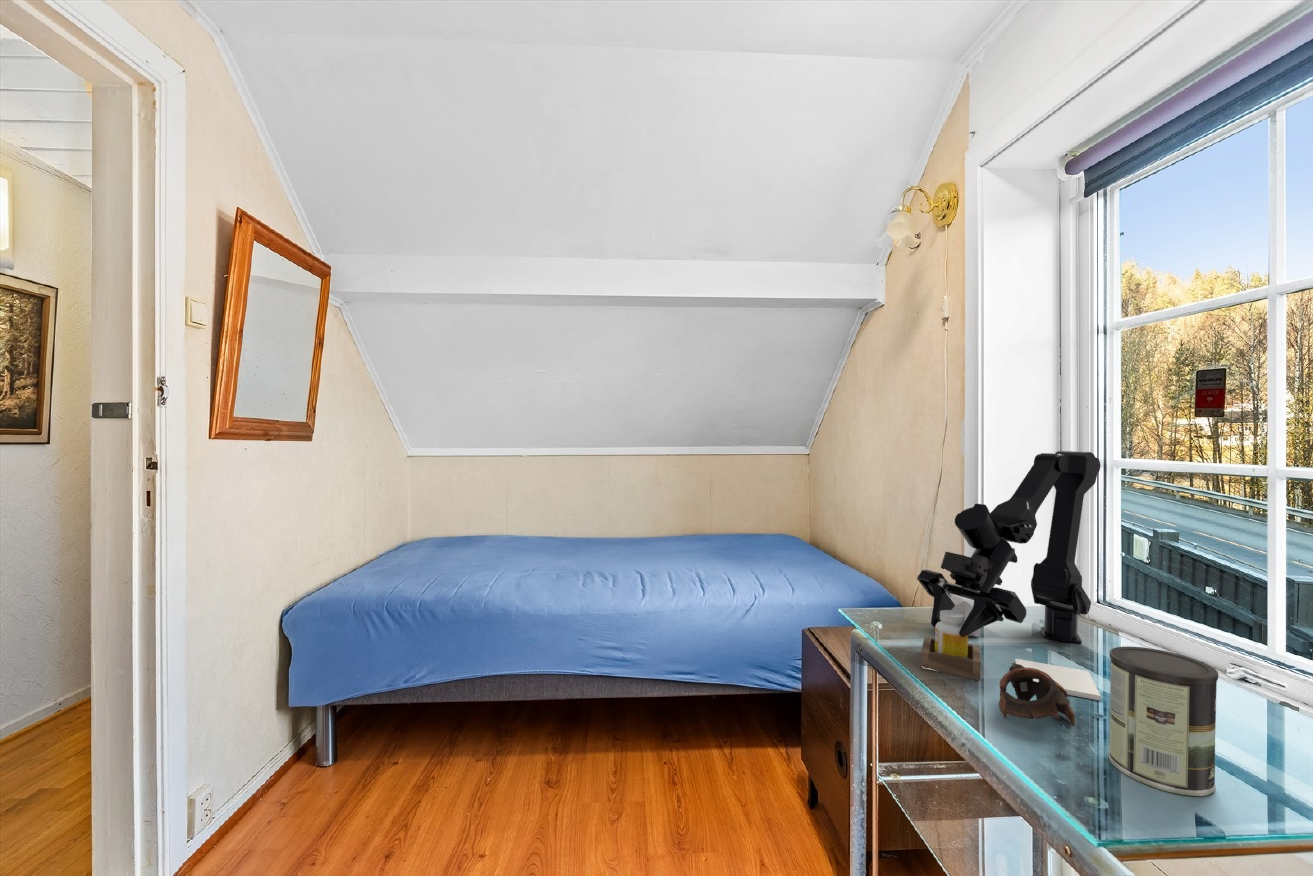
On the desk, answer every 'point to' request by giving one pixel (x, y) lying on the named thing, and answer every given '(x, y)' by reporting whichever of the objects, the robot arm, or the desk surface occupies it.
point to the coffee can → (1163, 719)
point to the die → (964, 609)
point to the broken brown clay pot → (1046, 692)
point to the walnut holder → (952, 660)
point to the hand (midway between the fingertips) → (946, 630)
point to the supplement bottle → (950, 634)
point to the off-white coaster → (1067, 679)
